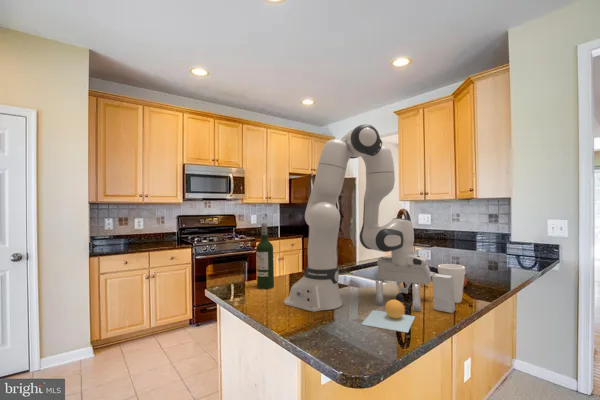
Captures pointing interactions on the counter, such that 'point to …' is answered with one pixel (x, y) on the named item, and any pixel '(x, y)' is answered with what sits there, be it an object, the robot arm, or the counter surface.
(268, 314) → the counter surface
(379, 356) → the counter surface
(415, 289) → the right post
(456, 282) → the foam cup
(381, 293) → the left post
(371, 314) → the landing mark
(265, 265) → the wine bottle
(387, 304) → the ball
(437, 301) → the skincare box
